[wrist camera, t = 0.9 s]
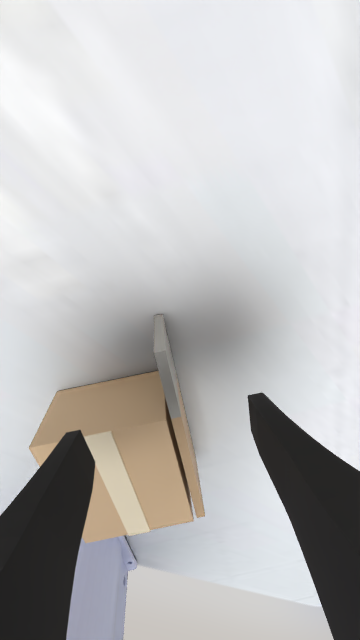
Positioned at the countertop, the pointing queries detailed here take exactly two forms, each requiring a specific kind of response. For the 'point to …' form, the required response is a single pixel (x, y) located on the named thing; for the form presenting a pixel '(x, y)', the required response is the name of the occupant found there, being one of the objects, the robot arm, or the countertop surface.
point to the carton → (123, 454)
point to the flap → (177, 410)
